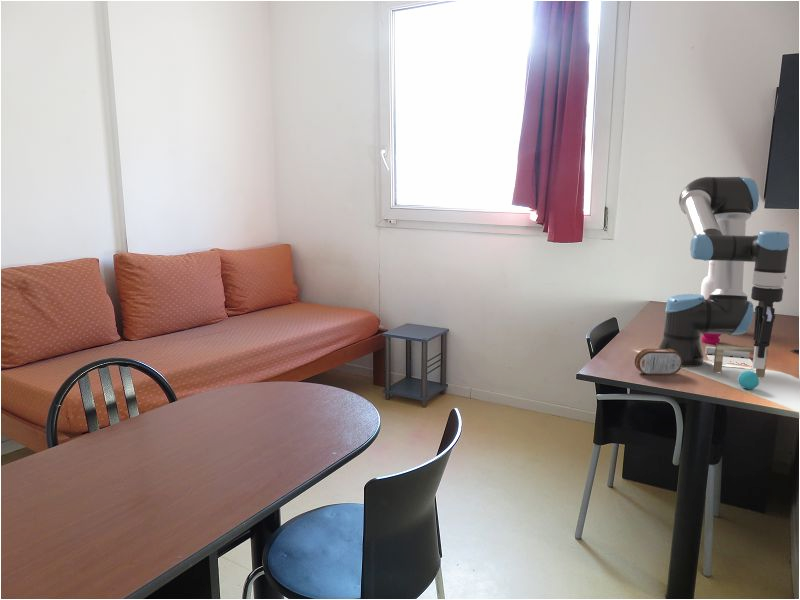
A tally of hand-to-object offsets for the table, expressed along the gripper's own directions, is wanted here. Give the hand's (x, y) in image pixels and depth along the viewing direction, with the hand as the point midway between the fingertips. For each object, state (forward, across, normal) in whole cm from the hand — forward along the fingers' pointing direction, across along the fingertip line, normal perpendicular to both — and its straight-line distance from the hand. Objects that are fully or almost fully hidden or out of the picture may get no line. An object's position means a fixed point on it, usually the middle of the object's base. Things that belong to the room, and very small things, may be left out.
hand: (758, 367), depth 175 cm
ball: (+7, +10, 0) cm, 12 cm away
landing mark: (+9, +40, 0) cm, 41 cm away
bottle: (+8, +96, +1) cm, 96 cm away
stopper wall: (+9, +50, 0) cm, 50 cm away
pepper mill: (+9, +69, +3) cm, 70 cm away
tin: (+9, +16, +25) cm, 31 cm away
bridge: (+9, +26, 0) cm, 28 cm away
